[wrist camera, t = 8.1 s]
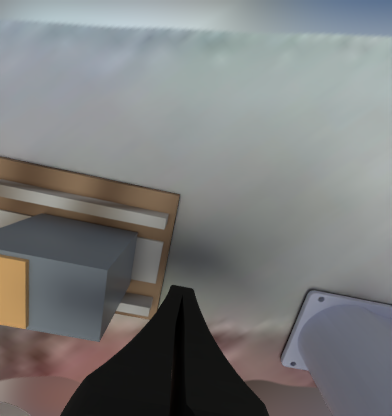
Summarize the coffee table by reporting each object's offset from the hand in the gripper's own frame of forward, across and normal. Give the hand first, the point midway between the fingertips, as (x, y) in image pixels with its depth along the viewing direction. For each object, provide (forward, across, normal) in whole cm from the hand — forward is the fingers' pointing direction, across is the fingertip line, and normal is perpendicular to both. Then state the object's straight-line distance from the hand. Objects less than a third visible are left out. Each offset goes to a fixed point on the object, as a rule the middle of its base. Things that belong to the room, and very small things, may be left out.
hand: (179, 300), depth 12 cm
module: (+4, +7, 0) cm, 8 cm away
